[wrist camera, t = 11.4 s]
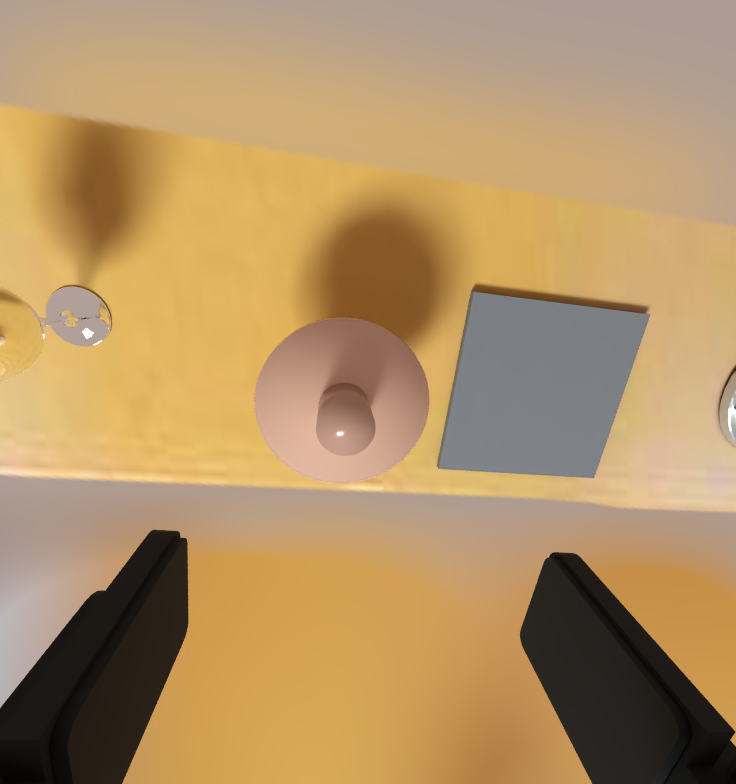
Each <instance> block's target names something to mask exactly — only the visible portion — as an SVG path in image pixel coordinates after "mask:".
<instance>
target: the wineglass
mask: <svg viewBox="0 0 736 784" xmlns="http://www.w3.org/2000/svg"><path fill="white" fill-rule="evenodd" d="M46 316H47V318H39V317H38V315H37V314H36V312H35V311H34V310H33V308H32V307H31V306H30V305H29V304H28V303H27V302H26V301H25V300H24V299H23V298H21V297H20V296H19V295H18V294H16V293H15V292H13V291H11V290H10V289H8V288H6V287H4V286H2V285H0V383H1V382H4V381H7V380H9V379H12V378H14V377H16V376H18V375H19V374H21V373H23V372H25V371H26V370H27V369H29V368H30V367H31V366H32V365H33V364H34V363H35V362H36V361H37V359H38V358H39V356H40V354H41V352H42V350H43V347H44V330H43V327H46V326H48V325H50V326H51V328H52V329H53V331H54V332H55V333H56V334H57V335H58V336H59V337H60V338H62V339H63V340H65V341H66V342H68V343H70V344H73V345H76V346H82V347H88V346H94V345H97V344H99V343H101V342H102V341H104V340H105V339H106V337H107V336H108V334H109V333H110V330H111V316H110V313H109V311H108V309H107V307H106V305H105V304H104V302H103V301H102V300H101V299H100V298H99V297H98V296H97V295H95V294H94V293H92V292H90V291H89V290H86V289H84V288H80V287H74V286H73V287H64V288H61V289H59V290H57V291H55V292H54V293H53V294H52V295H51V296H50V297H49V299H48V301H47V304H46Z"/></svg>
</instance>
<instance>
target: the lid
mask: <svg viewBox="0 0 736 784" xmlns="http://www.w3.org/2000/svg"><path fill="white" fill-rule="evenodd" d="M254 402H255V414H256V420H257V424H258V427H259V430H260V432H261V434H262V436H263V438H264V440H265V442H266V444H267V445H268V447H269V448H270V450H271V451H272V452H273V453H274V454H275V455H276V457H277V458H278V459H279V460H281V461H282V462H283V463H284V464H285V465H286V466H288V467H289V468H291V469H292V470H294V471H295V472H297V473H299V474H301V475H303V476H305V477H308V478H311V479H314V480H318V481H322V482H327V483H354V482H360V481H364V480H368V479H371V478H373V477H376V476H378V475H380V474H383V473H385V472H387V471H388V470H390V469H391V468H393V467H394V466H396V465H397V464H398V463H399V462H400V461H402V460H403V459H404V458H405V457H406V456H407V455H408V454H409V452H410V451H411V450H412V449H413V447H414V446H415V445H416V443H417V441H418V440H419V438H420V436H421V434H422V432H423V429H424V427H425V424H426V420H427V416H428V410H429V390H428V383H427V380H426V377H425V373H424V371H423V369H422V366H421V364H420V362H419V361H418V359H417V358H416V356H415V354H414V353H413V352H412V351H411V349H410V348H409V347H408V346H407V345H406V344H405V343H404V342H403V341H402V340H401V339H399V338H398V337H397V336H396V335H395V334H393V333H392V332H390V331H389V330H387V329H386V328H384V327H382V326H380V325H378V324H375V323H373V322H370V321H366V320H363V319H357V318H350V317H335V318H327V319H322V320H318V321H315V322H312V323H310V324H307V325H305V326H303V327H301V328H299V329H297V330H296V331H294V332H293V333H291V334H290V335H289V336H287V337H286V338H285V339H284V340H283V341H282V342H281V343H280V344H279V345H278V346H277V347H276V348H275V349H274V351H273V352H272V353H271V354H270V356H269V357H268V359H267V360H266V362H265V364H264V366H263V367H262V370H261V372H260V375H259V377H258V381H257V385H256V389H255V399H254Z"/></svg>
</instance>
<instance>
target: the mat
mask: <svg viewBox="0 0 736 784" xmlns="http://www.w3.org/2000/svg"><path fill="white" fill-rule="evenodd" d="M649 317H650V314H642V313H634V312H627V311H619V310H611V309H603V308H596V307H588V306H580V305H572V304H565V303H557V302H549V301H542V300H534V299H526V298H518V297H511V296H503V295H495V294H487V293H480V292H471V295H470V300H469V305H468V311H467V316H466V321H465V326H464V331H463V336H462V341H461V346H460V351H459V356H458V361H457V366H456V371H455V377H454V382H453V387H452V392H451V397H450V402H449V407H448V412H447V417H446V422H445V427H444V432H443V438H442V443H441V448H440V453H439V458H438V463H437V467H438V468H439V469H450V470H466V471H483V472H500V473H516V474H533V475H549V476H566V477H583V478H594V477H595V474H596V471H597V468H598V465H599V462H600V459H601V456H602V453H603V450H604V448H605V445H606V442H607V439H608V436H609V433H610V430H611V427H612V424H613V421H614V418H615V416H616V413H617V410H618V407H619V404H620V401H621V398H622V395H623V392H624V389H625V387H626V384H627V381H628V378H629V375H630V372H631V369H632V366H633V363H634V360H635V357H636V355H637V352H638V349H639V346H640V343H641V340H642V337H643V334H644V331H645V328H646V325H647V323H648V320H649Z"/></svg>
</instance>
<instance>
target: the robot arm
mask: <svg viewBox="0 0 736 784" xmlns="http://www.w3.org/2000/svg"><path fill="white" fill-rule="evenodd" d="M719 417H720V425H721V429H722V432H723V434H724V436H725V437H726V439H727V440H728V441H729V442H730V443H731V444H732V445H733V446H735V447H736V371H735V372H734V374H733V375H732V376H731V378H730V380H729V382H728V384H727V386H726V388H725V390H724V393H723V396H722V399H721V404H720V410H719ZM187 556H188V555H187V539H186V538H180V533H179V532H178V531H165V530H152V531H151V532H150V533H149V534H148V535H147V536H146V538H145V539H144V540H143V542H142V543H141V544H140V546H139V547H138V548H137V550H136V551H135V552H134V554H133V555H132V556H131V558H130V559H129V560H128V562H127V563H126V564H125V566H124V567H123V568H122V569H121V571H120V572H119V574H118V575H117V576H116V577H115V579H114V580H113V581H112V583H111V584H110V585H109V587H108V588H107V589H106V591H97V592H95V593H93V594H92V595H91V596H90V597H89V598H88V599H87V600H86V601H85V602H84V604H83V605H82V606H81V607H80V609H79V610H78V611H77V612H76V614H75V615H74V616H73V617H72V619H71V620H70V621H69V622H68V624H67V625H66V626H65V628H64V629H63V630H62V631H61V632H60V634H59V635H58V636H57V638H56V639H55V640H54V641H53V643H52V644H51V645H50V646H49V648H48V649H47V650H46V651H45V653H44V654H43V655H42V656H41V658H40V659H39V660H38V661H37V663H36V664H35V665H34V666H33V668H32V669H31V670H30V671H29V673H28V674H27V675H26V676H25V678H24V679H23V680H22V682H21V683H20V684H19V685H18V687H17V688H16V689H15V690H14V692H13V693H12V694H11V695H10V697H9V698H8V699H7V700H6V702H5V703H4V704H3V705H2V707H1V708H0V784H122V782H123V780H124V778H125V776H126V773H127V771H128V768H129V766H130V764H131V762H132V759H133V757H134V755H135V752H136V750H137V748H138V746H139V743H140V741H141V739H142V736H143V734H144V731H145V729H146V727H147V725H148V722H149V720H150V717H151V715H152V713H153V711H154V708H155V706H156V704H157V701H158V699H159V697H160V695H161V692H162V690H163V688H164V685H165V683H166V681H167V678H168V676H169V674H170V671H171V669H172V666H173V664H174V662H175V660H176V657H177V655H178V653H179V650H180V648H181V646H182V643H183V641H184V638H185V635H186V632H187V628H188V564H187V561H188V557H187ZM520 639H521V643H522V646H523V648H524V650H525V653H526V654H527V656H528V658H529V660H530V662H531V664H532V666H533V668H534V670H535V672H536V674H537V676H538V678H539V680H540V682H541V684H542V686H543V688H544V690H545V692H546V693H547V695H548V698H549V700H550V701H551V704H552V705H553V707H554V709H555V711H556V713H557V715H558V717H559V719H560V721H561V723H562V725H563V727H564V729H565V731H566V733H567V735H568V737H569V739H570V741H571V743H572V744H573V747H574V749H575V751H576V753H577V754H578V756H579V758H580V760H581V762H582V764H583V766H584V768H585V770H586V772H587V774H588V776H589V778H590V780H591V782H592V784H736V746H734V744H733V743H732V742H731V741H730V739H731V738H732V736H733V735H734V733H735V731H734V730H733V729H732V727H731V726H730V725H729V724H728V723H727V722H726V721H725V720H724V719H723V718H722V716H721V715H720V714H719V713H718V712H717V711H716V709H715V708H714V707H713V706H712V705H711V704H710V703H709V702H708V700H707V699H706V698H705V697H704V696H703V695H702V694H701V693H700V691H699V690H698V689H697V688H696V687H695V686H694V685H693V684H692V683H691V681H690V680H689V679H688V678H687V677H686V676H685V675H684V673H683V672H682V671H681V670H680V669H679V668H678V667H677V666H676V664H675V663H674V662H673V661H672V660H671V659H670V658H669V657H668V655H667V654H666V653H665V652H664V651H663V650H662V649H661V648H660V646H659V645H658V644H657V643H656V642H655V641H654V640H653V639H652V638H651V637H650V635H649V634H648V633H647V632H646V631H645V630H644V628H643V627H642V626H641V625H640V624H639V623H638V622H637V621H636V619H635V618H634V617H633V616H632V615H631V614H630V613H629V612H628V610H627V609H626V608H625V607H624V606H623V605H622V604H621V603H620V602H619V600H618V599H617V598H616V597H615V596H614V595H613V594H612V593H611V591H610V590H609V589H608V588H607V587H606V586H605V585H604V584H603V582H602V581H601V580H600V579H599V578H598V577H597V576H596V575H595V573H594V572H593V571H592V570H591V569H590V568H589V567H588V565H587V564H586V563H585V562H584V561H583V560H582V559H581V558H580V557H579V556H578V555H577V554H574V553H559V552H554V553H552V554H551V555H550V556H549V558H547V559H546V560H545V561H544V564H543V567H542V570H541V572H540V575H539V578H538V581H537V584H536V587H535V590H534V593H533V596H532V599H531V602H530V605H529V608H528V610H527V613H526V616H525V619H524V622H523V625H522V628H521V631H520Z"/></svg>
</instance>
